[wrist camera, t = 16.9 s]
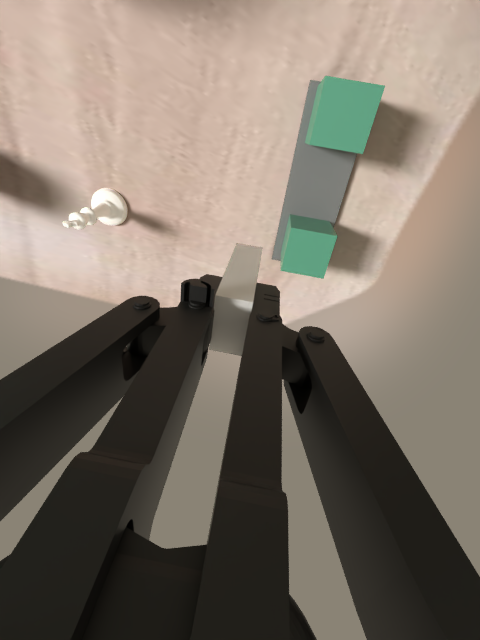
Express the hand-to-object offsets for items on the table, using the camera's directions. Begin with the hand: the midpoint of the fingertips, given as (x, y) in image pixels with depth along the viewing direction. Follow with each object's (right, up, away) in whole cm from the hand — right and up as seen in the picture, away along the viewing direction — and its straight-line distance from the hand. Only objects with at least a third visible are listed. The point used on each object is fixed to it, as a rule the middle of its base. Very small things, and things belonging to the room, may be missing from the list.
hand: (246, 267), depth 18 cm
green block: (+8, +8, +22) cm, 25 cm away
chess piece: (-18, +13, +24) cm, 33 cm away
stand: (+9, +13, +19) cm, 25 cm away
